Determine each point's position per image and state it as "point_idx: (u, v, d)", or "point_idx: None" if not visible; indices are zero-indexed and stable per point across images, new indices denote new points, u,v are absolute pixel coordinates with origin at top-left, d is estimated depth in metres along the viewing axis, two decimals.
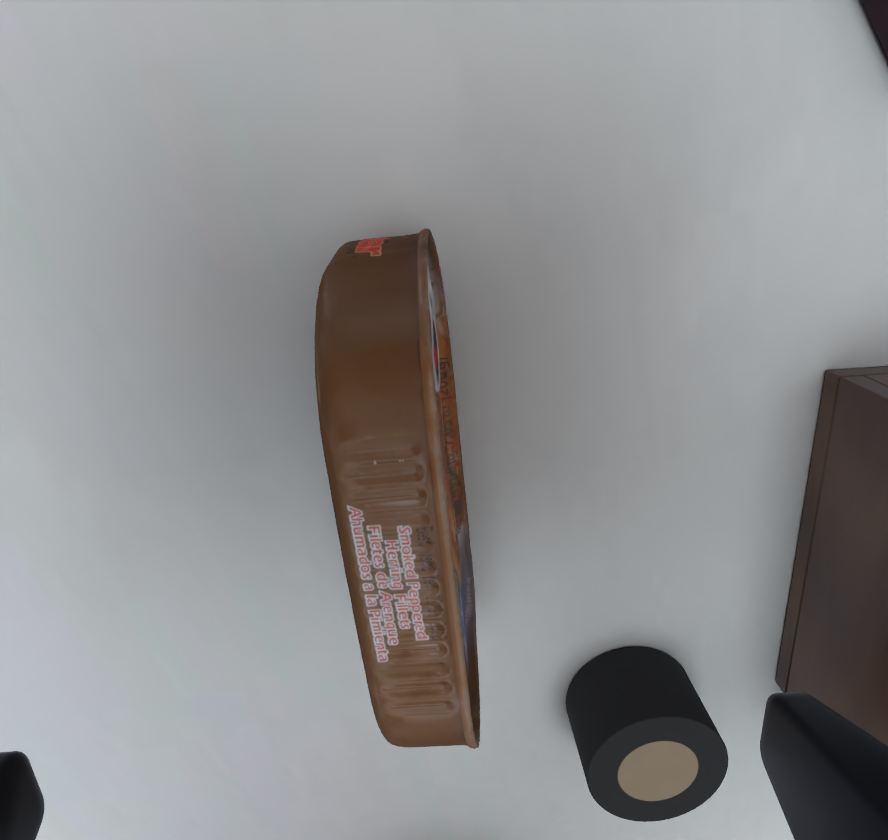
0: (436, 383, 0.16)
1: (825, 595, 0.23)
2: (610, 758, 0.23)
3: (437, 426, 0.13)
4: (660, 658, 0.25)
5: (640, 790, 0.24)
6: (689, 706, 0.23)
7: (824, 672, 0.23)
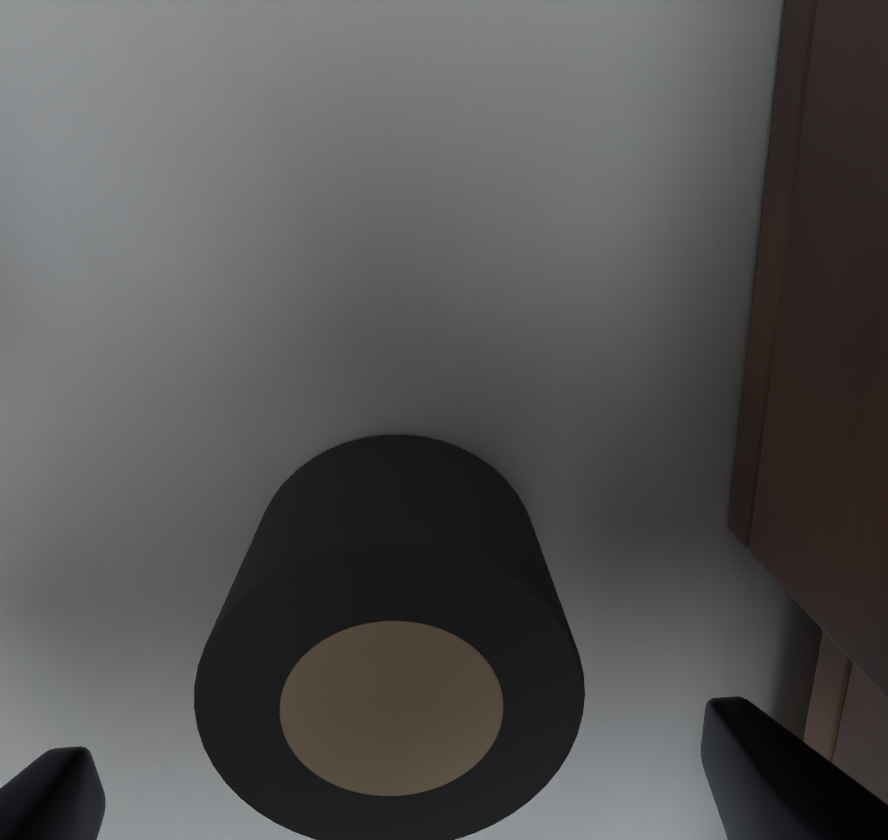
0: None
1: (845, 204, 0.08)
2: (248, 674, 0.08)
3: None
4: (448, 454, 0.11)
5: (352, 765, 0.09)
6: (477, 531, 0.08)
7: (844, 433, 0.08)
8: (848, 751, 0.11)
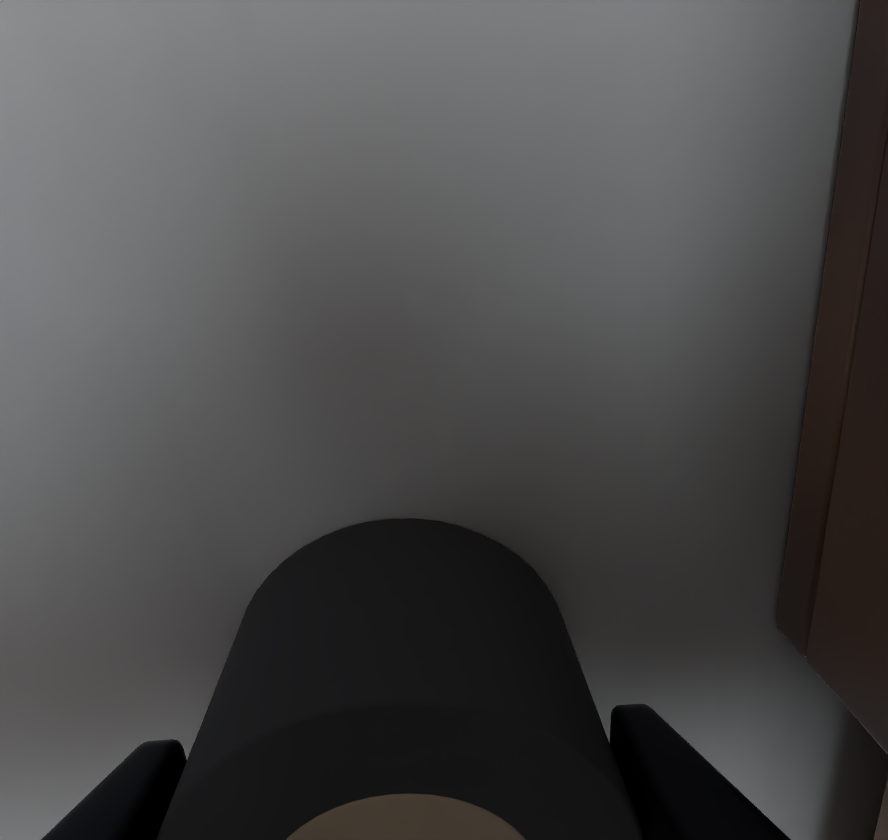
0: None
1: None
2: None
3: None
4: (468, 546, 0.09)
5: None
6: (511, 666, 0.07)
7: None
8: None
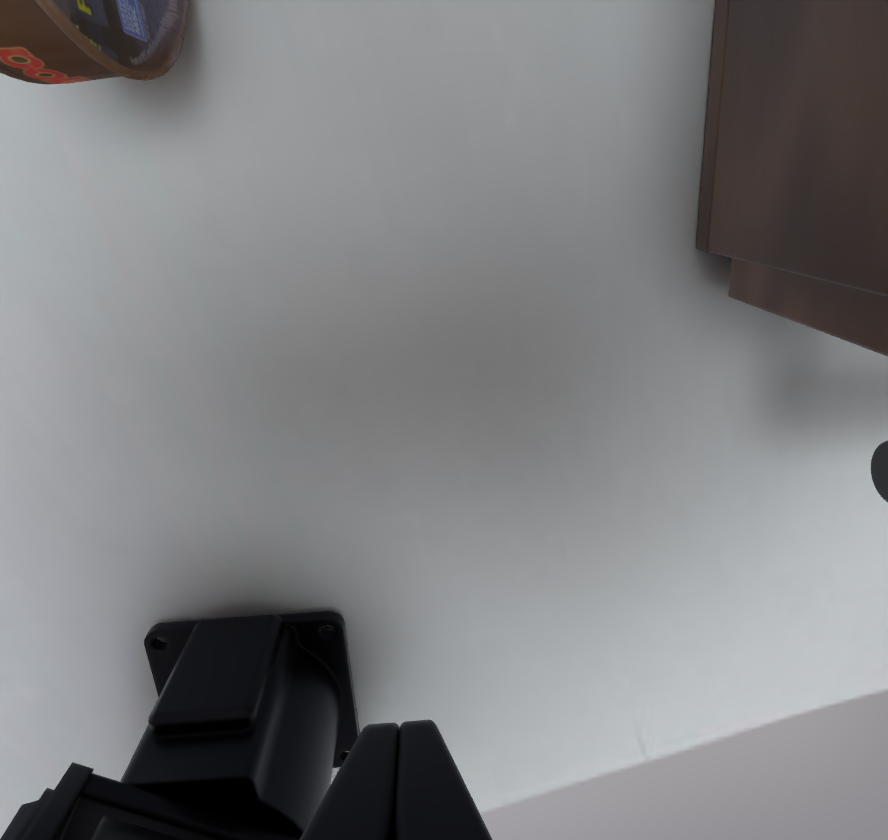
0: None
1: None
2: None
3: None
4: None
5: None
6: None
7: (756, 122, 0.14)
8: None
